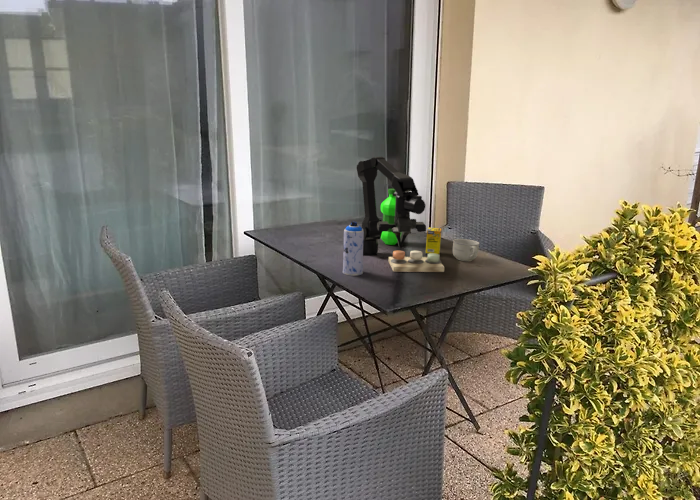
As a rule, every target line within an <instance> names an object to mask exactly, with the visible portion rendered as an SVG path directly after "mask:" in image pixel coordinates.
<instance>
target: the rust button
mask: <svg viewBox="0 0 700 500" xmlns="http://www.w3.org/2000/svg"><path fill="white" fill-rule="evenodd" d="M392 257H393V258H394V259H398V260H401V259H405V257H406V252H405V251H404V250H393V252H392Z"/></svg>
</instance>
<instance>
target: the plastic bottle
mask: <svg viewBox="0 0 700 500" xmlns="http://www.w3.org/2000/svg"><path fill="white" fill-rule="evenodd" d="M395 192H396V191H395V190H394V188H388V189H387V193H388V197H387V198H386V199H384V200H383V201H382V202H381V204H380V212H381V214H382V221H386V222H388V224H394V221H395V203H396V197H395V196H393V194H394V193H395ZM396 227H397V226H396ZM400 239H401V234H400ZM380 240H381V241H382V242H383V243H384V244H385V245H387V246H388V245H391V246H395V245H396V244H398V241H397V238H396V235H395V233H393V232H392V231H391V229H389V230H388V231H382V234H381V238H380Z"/></svg>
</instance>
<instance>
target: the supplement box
mask: <svg viewBox="0 0 700 500" xmlns="http://www.w3.org/2000/svg"><path fill="white" fill-rule="evenodd" d="M425 239H426V241H425V255H426V256H427V255H428V254H430V253H435V254H439V255H440V252H441V243H442V242H441V241H442V228H439V227H427V229H426V238H425Z"/></svg>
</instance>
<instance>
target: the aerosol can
mask: <svg viewBox="0 0 700 500" xmlns="http://www.w3.org/2000/svg"><path fill="white" fill-rule="evenodd" d="M363 238H364V231H363V229H362V226H360V225H359V224H358V222H357V221H355V220H351V222H350V224H349V225H347V226H346V227H345V228H344V230H343V256H342V257H343V258H342V259H343V261H342V274H343V275H346V276H352V277H353V276H356V277H357V276H360V275H363V273H364V271H363V267H364V265H363V262H364V255H363Z"/></svg>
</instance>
